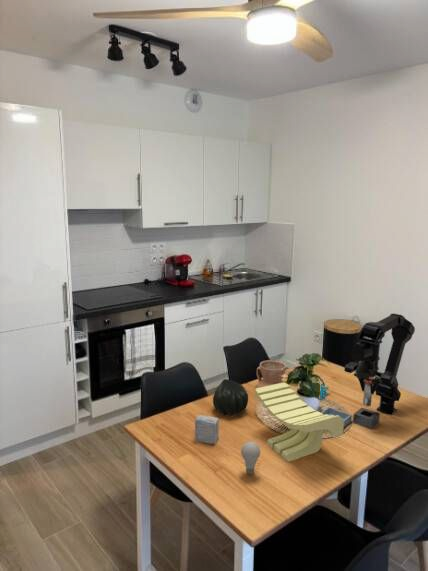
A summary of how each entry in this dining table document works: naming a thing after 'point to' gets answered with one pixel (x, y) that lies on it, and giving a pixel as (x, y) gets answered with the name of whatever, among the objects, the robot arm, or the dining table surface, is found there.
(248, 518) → the dining table surface
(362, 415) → the hitch block
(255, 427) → the dining table surface
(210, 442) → the medicine box
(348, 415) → the tray
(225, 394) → the squash
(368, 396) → the pin
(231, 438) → the dining table surface
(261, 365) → the ceramic jug
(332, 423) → the slatted curved stool
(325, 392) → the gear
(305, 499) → the dining table surface
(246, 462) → the lightbulb
